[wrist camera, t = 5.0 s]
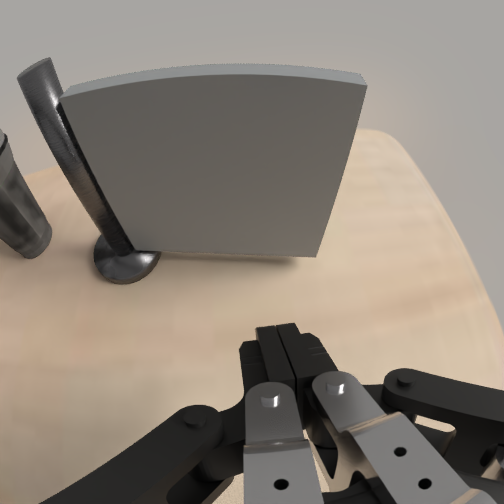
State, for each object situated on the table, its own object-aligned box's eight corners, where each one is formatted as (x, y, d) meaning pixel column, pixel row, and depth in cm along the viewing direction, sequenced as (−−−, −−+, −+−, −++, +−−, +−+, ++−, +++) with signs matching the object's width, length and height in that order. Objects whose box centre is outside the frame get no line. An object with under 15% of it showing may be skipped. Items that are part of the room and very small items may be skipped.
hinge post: (90, 281, 23) (-34, 116, 8) (109, 224, 26) (28, 58, 11) (153, 287, 23) (42, 82, 8) (167, 224, 26) (106, 30, 11)
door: (135, 250, 23) (59, 98, 11) (142, 225, 24) (80, 75, 12) (315, 257, 22) (367, 85, 10) (313, 231, 23) (354, 64, 11)
